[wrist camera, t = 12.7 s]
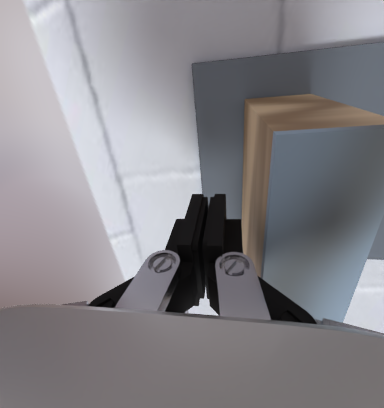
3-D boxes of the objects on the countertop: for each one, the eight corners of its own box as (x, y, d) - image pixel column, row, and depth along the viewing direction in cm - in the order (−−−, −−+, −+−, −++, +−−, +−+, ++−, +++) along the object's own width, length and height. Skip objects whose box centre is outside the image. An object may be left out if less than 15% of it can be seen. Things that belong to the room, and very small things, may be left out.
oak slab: (310, 93, 13) (417, 126, 6) (289, 237, 18) (334, 342, 11) (244, 98, 14) (276, 134, 7) (241, 238, 19) (257, 340, 12)
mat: (569, 20, 11) (580, 19, 10) (437, 257, 18) (441, 261, 17) (192, 63, 14) (191, 63, 13) (207, 250, 21) (207, 253, 20)
